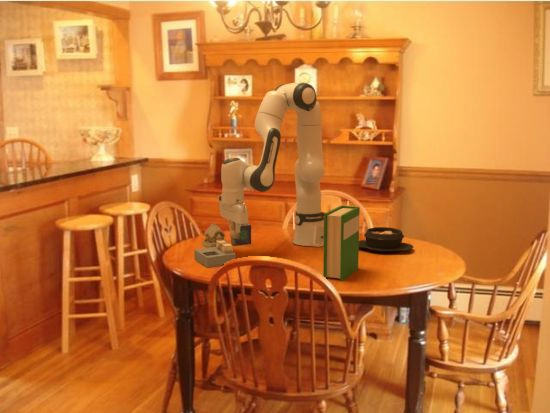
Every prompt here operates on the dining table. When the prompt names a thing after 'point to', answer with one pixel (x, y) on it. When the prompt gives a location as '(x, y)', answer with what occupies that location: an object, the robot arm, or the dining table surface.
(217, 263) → the grey recessed block
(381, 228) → the casserole
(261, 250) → the dining table surface
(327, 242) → the hardback book
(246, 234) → the flask
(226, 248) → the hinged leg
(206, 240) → the ceramic model
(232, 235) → the loose leg
